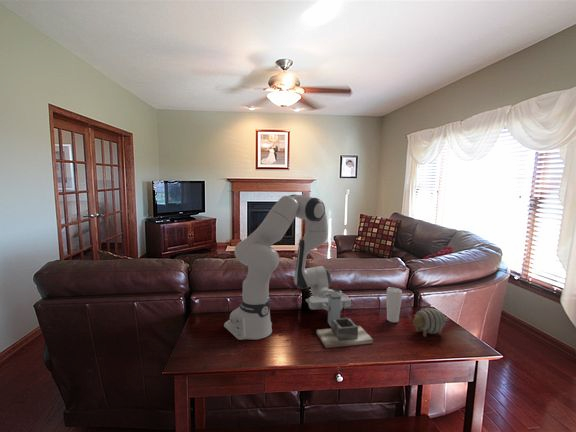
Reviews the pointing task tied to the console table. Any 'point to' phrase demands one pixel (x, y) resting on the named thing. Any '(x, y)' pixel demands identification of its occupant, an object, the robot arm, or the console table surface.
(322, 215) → the robot arm
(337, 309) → the grey tall block
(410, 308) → the console table surface
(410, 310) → the console table surface
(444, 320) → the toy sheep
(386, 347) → the console table surface
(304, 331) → the console table surface
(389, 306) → the drinking glass
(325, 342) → the post socket
